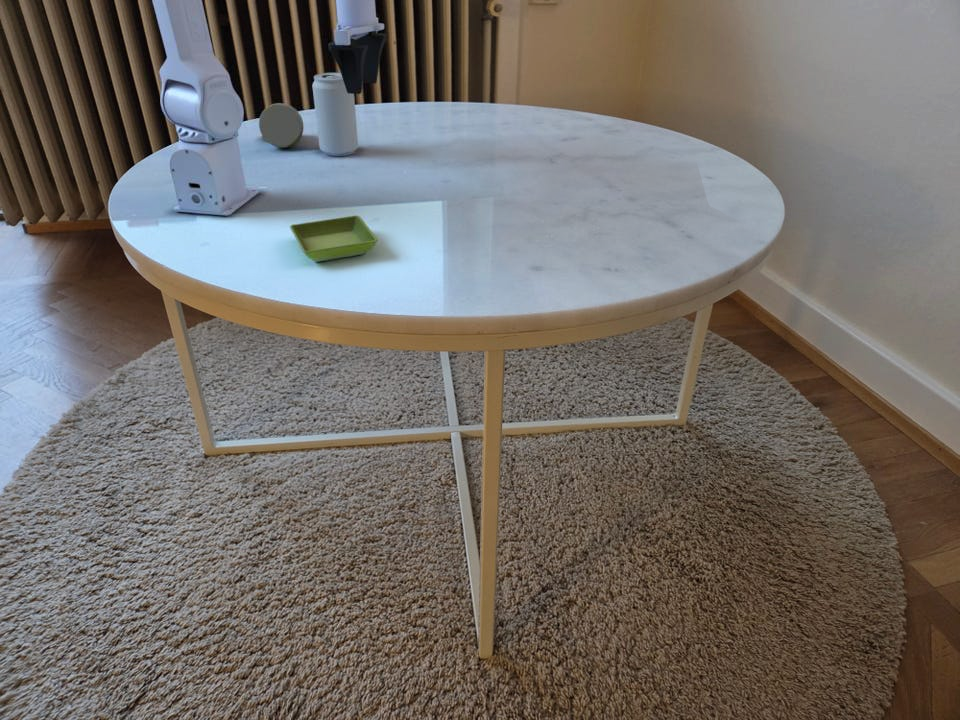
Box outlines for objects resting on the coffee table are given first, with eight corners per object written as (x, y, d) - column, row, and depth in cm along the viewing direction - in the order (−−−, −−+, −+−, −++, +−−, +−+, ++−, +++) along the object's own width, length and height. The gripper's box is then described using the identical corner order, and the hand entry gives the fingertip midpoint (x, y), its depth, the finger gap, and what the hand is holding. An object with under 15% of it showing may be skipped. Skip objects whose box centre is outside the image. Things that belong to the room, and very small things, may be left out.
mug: (310, 134, 123) (311, 89, 114) (297, 172, 118) (298, 129, 109) (268, 123, 121) (266, 77, 113) (254, 162, 117) (251, 117, 108)
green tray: (291, 240, 83) (288, 224, 82) (360, 229, 86) (358, 214, 85) (305, 269, 76) (303, 252, 75) (380, 256, 79) (378, 240, 78)
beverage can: (341, 143, 117) (333, 69, 110) (366, 151, 114) (360, 75, 107) (312, 152, 113) (302, 75, 106) (337, 159, 110) (329, 81, 103)
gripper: (364, -4, 93) (372, 99, 100) (394, -14, 105) (399, 79, 112) (316, -6, 94) (327, 97, 101) (351, -15, 106) (358, 77, 113)
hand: (362, 87), depth 107 cm, fingers open, 7 cm apart
